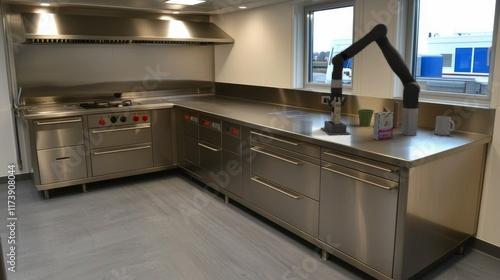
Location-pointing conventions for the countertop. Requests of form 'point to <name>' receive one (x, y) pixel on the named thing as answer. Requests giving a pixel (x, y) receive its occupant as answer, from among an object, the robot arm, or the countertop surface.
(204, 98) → the countertop surface
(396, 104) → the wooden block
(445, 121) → the mug
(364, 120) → the plant pot
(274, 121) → the countertop surface
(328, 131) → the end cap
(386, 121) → the candy bar box
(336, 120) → the beige printed box
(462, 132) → the countertop surface
